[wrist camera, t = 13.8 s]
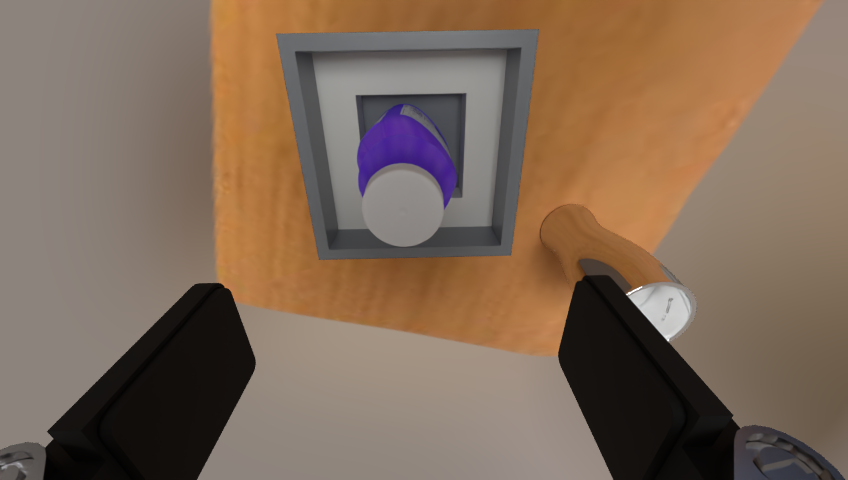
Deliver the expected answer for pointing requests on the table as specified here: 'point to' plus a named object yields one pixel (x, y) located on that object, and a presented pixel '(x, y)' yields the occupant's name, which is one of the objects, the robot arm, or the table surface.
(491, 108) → the bore box
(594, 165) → the table surface
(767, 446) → the robot arm
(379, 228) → the bottle
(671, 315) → the beer glass
